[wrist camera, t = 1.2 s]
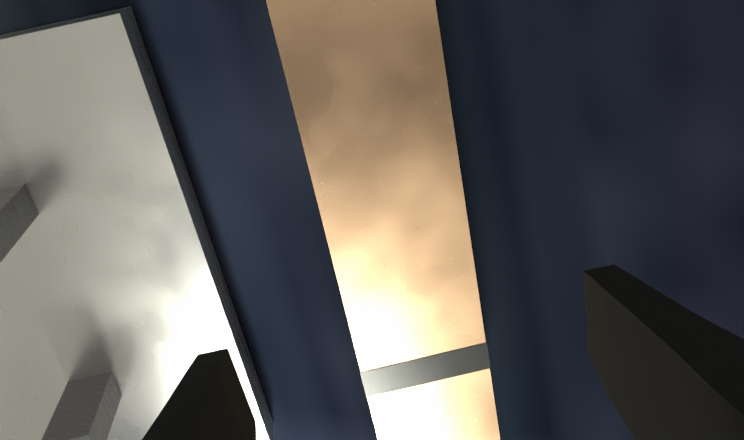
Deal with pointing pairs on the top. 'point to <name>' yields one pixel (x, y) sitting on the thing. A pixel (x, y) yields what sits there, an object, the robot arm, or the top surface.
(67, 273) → the firebox plate
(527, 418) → the top surface
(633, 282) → the robot arm
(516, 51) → the top surface
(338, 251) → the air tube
